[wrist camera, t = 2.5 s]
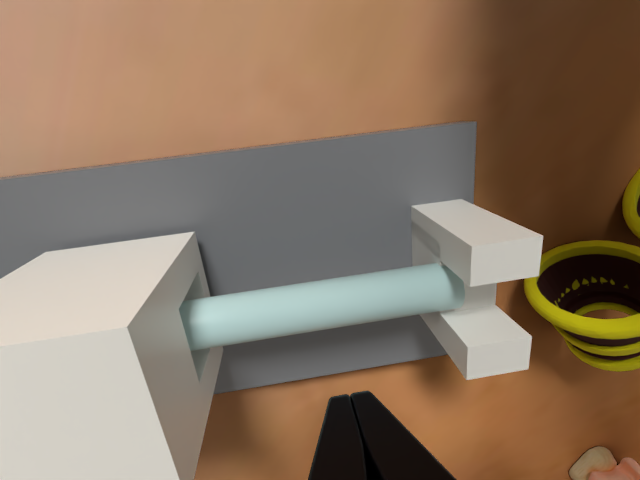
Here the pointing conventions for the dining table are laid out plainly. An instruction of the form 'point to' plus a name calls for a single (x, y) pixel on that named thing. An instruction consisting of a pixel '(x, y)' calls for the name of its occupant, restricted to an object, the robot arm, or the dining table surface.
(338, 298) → the linear slide rail
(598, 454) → the grandmother figurine
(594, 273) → the opera glasses
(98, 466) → the white square tube
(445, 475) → the robot arm
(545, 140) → the dining table surface
